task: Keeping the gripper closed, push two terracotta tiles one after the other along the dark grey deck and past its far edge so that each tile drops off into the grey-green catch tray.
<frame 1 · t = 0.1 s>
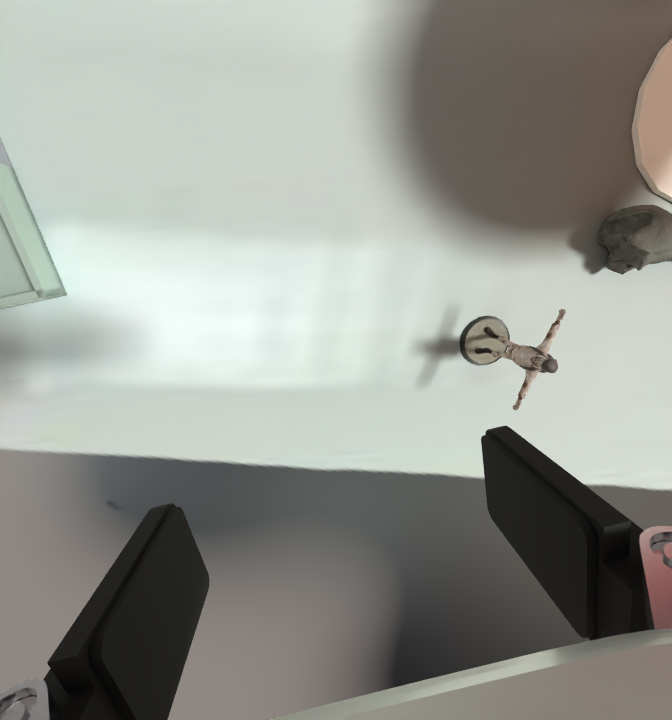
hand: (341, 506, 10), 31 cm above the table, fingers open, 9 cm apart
figurine: (483, 340, 42), on the table
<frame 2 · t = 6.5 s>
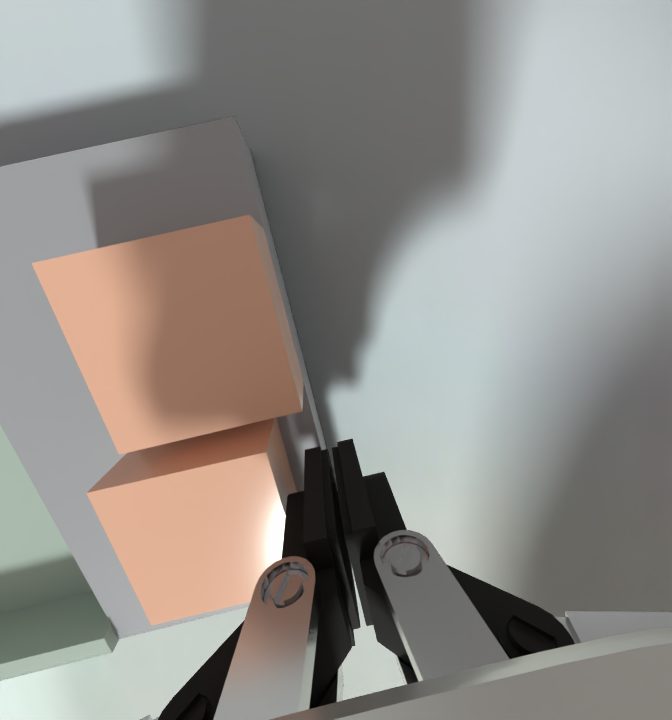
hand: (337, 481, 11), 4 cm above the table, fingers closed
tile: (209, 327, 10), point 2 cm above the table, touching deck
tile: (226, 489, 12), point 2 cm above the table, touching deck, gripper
deck: (190, 400, 14), on the table
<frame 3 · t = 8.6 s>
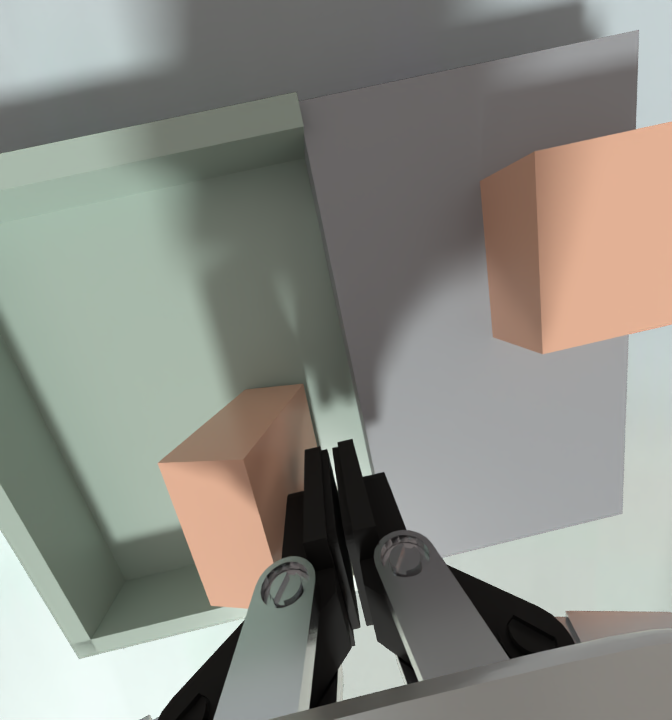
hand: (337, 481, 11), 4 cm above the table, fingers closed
catch tray: (196, 398, 14), on the table
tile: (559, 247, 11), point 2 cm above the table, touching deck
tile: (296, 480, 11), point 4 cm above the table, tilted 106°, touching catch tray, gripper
deck: (461, 337, 14), on the table
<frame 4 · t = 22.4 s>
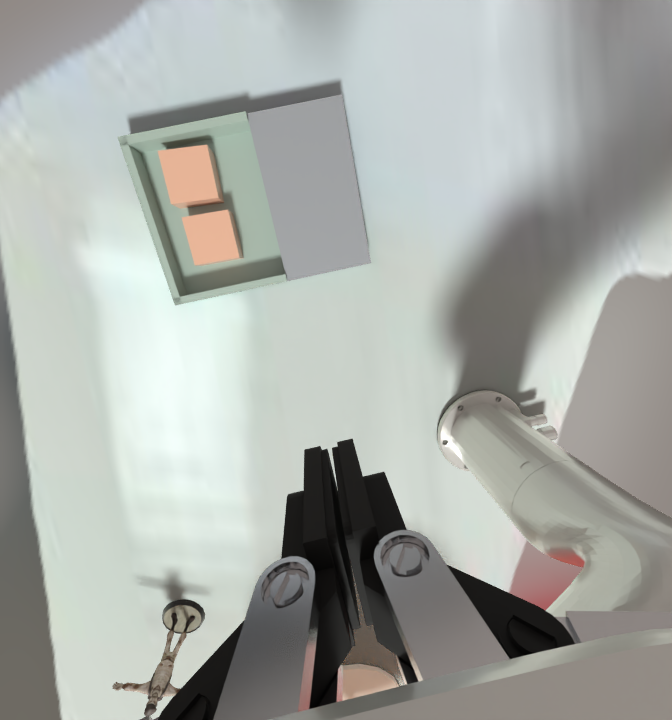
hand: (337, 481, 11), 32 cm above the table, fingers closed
catch tray: (215, 218, 38), on the table
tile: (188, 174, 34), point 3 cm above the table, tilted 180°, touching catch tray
round pedestal stand: (348, 701, 61), on the table
figurine: (184, 614, 52), on the table
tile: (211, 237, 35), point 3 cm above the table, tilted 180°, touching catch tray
deck: (312, 198, 38), on the table
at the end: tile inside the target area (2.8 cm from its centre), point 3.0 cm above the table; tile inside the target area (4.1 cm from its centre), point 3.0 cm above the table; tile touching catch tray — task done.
